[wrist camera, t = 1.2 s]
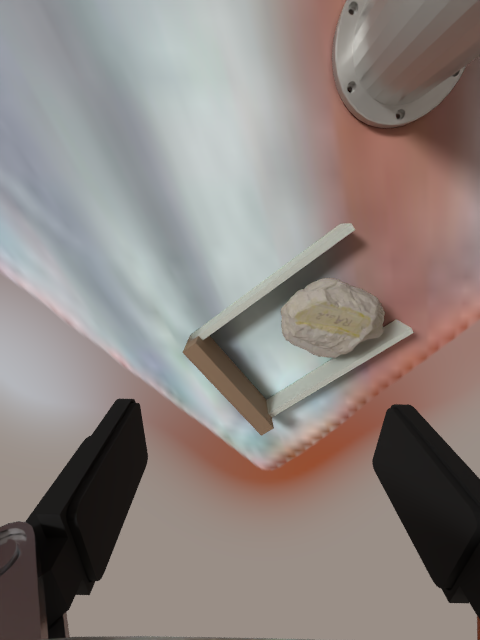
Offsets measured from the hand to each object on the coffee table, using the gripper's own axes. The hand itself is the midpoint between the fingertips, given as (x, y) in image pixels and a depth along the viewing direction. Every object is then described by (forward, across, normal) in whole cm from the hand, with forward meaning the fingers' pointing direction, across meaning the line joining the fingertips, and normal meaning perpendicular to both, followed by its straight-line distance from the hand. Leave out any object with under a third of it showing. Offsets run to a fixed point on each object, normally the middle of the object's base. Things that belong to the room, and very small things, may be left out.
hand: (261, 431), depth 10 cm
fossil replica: (+24, -10, +3) cm, 26 cm away
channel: (+24, -6, +6) cm, 25 cm away
